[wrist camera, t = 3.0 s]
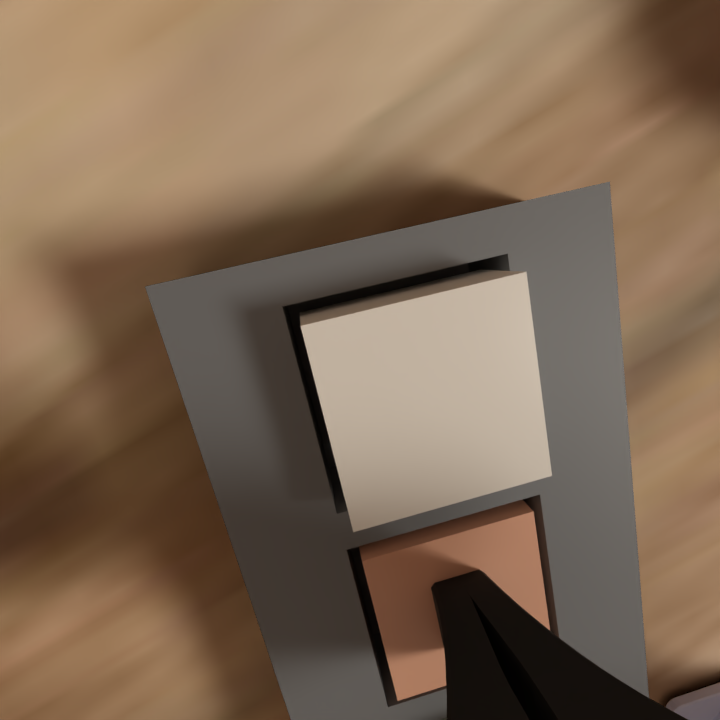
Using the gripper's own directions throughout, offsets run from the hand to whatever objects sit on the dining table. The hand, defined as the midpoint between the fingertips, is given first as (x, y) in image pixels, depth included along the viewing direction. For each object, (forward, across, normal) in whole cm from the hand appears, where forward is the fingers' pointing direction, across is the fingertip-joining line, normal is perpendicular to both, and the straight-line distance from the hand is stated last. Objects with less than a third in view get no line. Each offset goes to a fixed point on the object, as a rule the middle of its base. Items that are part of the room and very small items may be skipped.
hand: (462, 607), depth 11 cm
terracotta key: (+2, 0, 0) cm, 2 cm away
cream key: (+1, 0, -6) cm, 6 cm away
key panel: (+3, 0, 0) cm, 3 cm away
